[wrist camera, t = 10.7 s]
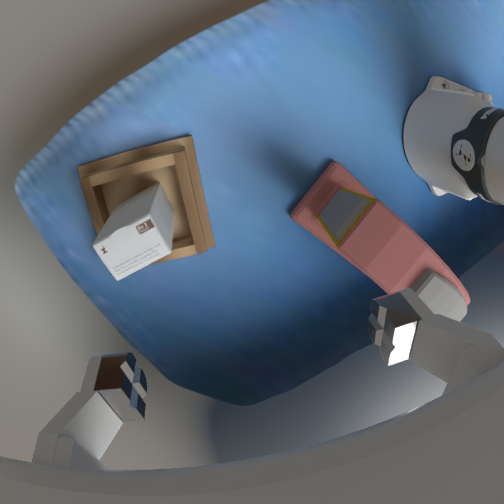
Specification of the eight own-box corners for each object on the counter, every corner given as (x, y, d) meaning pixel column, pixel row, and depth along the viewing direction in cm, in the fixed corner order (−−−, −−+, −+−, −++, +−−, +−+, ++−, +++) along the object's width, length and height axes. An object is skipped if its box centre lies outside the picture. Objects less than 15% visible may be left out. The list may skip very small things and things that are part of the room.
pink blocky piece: (272, 203, 40) (348, 304, 21) (317, 145, 37) (434, 200, 18) (373, 279, 49) (452, 371, 30) (409, 235, 46) (503, 312, 28)
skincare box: (134, 232, 37) (116, 286, 26) (115, 202, 35) (88, 246, 24) (177, 209, 37) (174, 257, 26) (160, 177, 35) (148, 213, 24)
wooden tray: (191, 135, 34) (192, 138, 31) (214, 243, 41) (217, 257, 37) (79, 166, 33) (68, 173, 29) (113, 266, 39) (107, 282, 36)
